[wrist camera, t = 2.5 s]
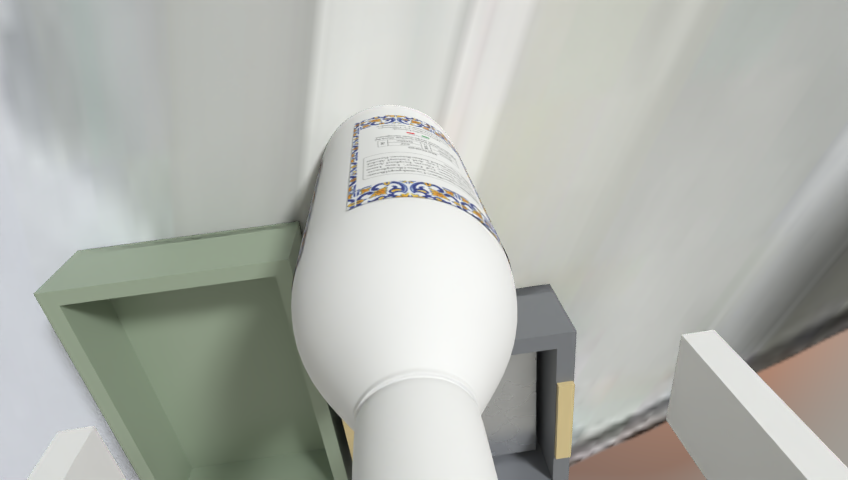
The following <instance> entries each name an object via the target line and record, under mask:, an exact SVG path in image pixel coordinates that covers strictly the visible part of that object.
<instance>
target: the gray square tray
mask: <svg viewBox="0 0 848 480" xmlns="http://www.w3.org/2000/svg"><path fill="white" fill-rule="evenodd" d="M516 297H517V328H516V336H515V342H514V346H513V349H512V353H511V355H517V354H524V353H531V352H536V450H531V451H524V452H518V453H511V454H505V455H498V456H492V458H493V462H494V466H495V470H496V474H497V478H498V480H568V475H569V458H570V457H571V443H572V425H573V407H574V390H575V384H574V367H575V349H576V330H575V328H574V326H573V324H572V322H571V321H570V319H569V317H568V315H567V314H566V312H565V310H564V308H563V307H562V305H561V303H560V301H559V300H558V298H557V296H556V294H555V293H554V291H553V289H552V287H551V286H550V284H547V285H540V286H532V287H525V288H518V289H516ZM342 422H343V426H344V430H345V434H346V438H347V442H348V445H349V449H350V453H351V457H352V461H353V442H354V431H353V430H352V429H351V428H350V427H349V426H348V425H347V424H346V423H345V421H344V420H343V419H342Z"/></svg>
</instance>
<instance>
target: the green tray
mask: <svg viewBox="0 0 848 480" xmlns="http://www.w3.org/2000/svg"><path fill="white" fill-rule="evenodd" d="M302 239H303V236H302V232H301V228H300V223H299V221H297V222H290V223H282V224H275V225H267V226H260V227H252V228H245V229H237V230H230V231H222V232H214V233H207V234H199V235H192V236H184V237H177V238H169V239H162V240H154V241H147V242H139V243H132V244H124V245H117V246H109V247H102V248H94V249H87V250H79V251H77V252H76V253H75V254H74V255H73V256H72V257H71V258H70V259H69V260H68V261H67V262H66V263H65V264H64V265H63V266H62V267H61V268H59V269H58V270H57V271H56V272H55V273H54V274H53V275H52V276H51V277H50V278H49V279H48V280H47V281H46V282H45V283H44V284H43V285H42V286H41V287H40V288H39V289H38V290H37V291H36V292H35V293H34V296H35V297H36V299H37V301H38V303H39V304H40V306H41V308H42V310H43V311H44V313H45V315H46V316H47V318H48V320H49V322H50V323H51V325H52V327H53V329H54V330H55V332H56V334H57V336H58V337H59V339H60V341H61V343H62V344H63V346H64V348H65V350H66V351H67V353H68V355H69V357H70V358H71V360H72V362H73V364H74V365H75V367H76V369H77V371H78V372H79V374H80V376H81V378H82V379H83V381H84V383H85V384H86V386H87V388H88V390H89V391H90V393H91V395H92V397H93V398H94V400H95V402H96V404H97V405H98V407H99V409H100V411H101V412H102V414H103V416H104V418H105V419H106V421H107V423H108V425H109V426H110V428H111V430H112V432H113V433H114V435H115V437H116V439H117V440H118V442H119V444H120V446H121V447H122V449H123V451H124V452H125V454H126V456H127V458H128V459H129V461H130V463H131V465H132V466H133V468H134V470H135V472H136V473H137V475H138V477H139V479H140V480H352V464H353V461H352V457H351V453H350V449H349V445H348V442H347V438H346V434H345V430H344V426H343V422H342V418H341V417H340V416H339V415H338V414H337V413H336V412H335V411H334V410H333V408H332V407H331V406H330V405H329V404H328V403H327V401H326V400H325V399H324V398H323V396H322V395H321V394H320V392H319V391H318V389H317V388H316V387H315V385H314V384H313V382H312V380H311V378H310V377H309V375H308V373H307V371H306V369H305V367H304V365H303V362H302V360H301V357H300V354H299V352H298V349H297V345H296V341H295V336H294V331H293V324H292V311H291V300H292V281H293V276H294V272H295V267H296V263H297V259H298V255H299V251H300V247H301V243H302Z"/></svg>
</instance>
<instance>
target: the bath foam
mask: <svg viewBox="0 0 848 480" xmlns="http://www.w3.org/2000/svg"><path fill="white" fill-rule="evenodd" d="M291 311H292V324H293V331H294V336H295V341H296V345H297V349H298V352H299V354H300V357H301V360H302V362H303V365H304V367H305V369H306V371H307V373H308V375H309V377H310V378H311V380H312V382H313V384H314V385H315V387H316V388H317V389H318V391H319V392H320V394H321V395H322V396H323V398H324V399H325V400H326V401H327V403H328V404H329V405H330V406H331V407H332V408H333V410H334V411H335V412H336V413H337V414H338V415H339V416H340V417H341V418H342V419H343V420H344V421H345V423H346V424H347V425H348V426H349V427H350V428H351V429H352V430H353V431H354V442H353V464H352V480H498V478H497V474H496V470H495V466H494V462H493V458H492V454H491V450H490V446H489V443H488V439H487V435H486V431H485V428H484V424H483V421H482V417H481V415H482V413H483V411H484V410H485V408H486V406H487V404H488V403H489V401H490V399H491V397H492V396H493V394H494V392H495V390H496V388H497V387H498V385H499V383H500V381H501V379H502V377H503V374H504V372H505V370H506V367H507V365H508V362H509V360H510V356H511V353H512V349H513V346H514V342H515V336H516V328H517V297H516V289H515V284H514V279H513V274H512V270H511V266H510V262H509V259H508V257H507V254H506V252H505V250H504V248H503V246H502V244H501V242H500V240H499V238H498V235H497V233H496V231H495V229H494V227H493V225H492V223H491V221H490V219H489V217H488V215H487V213H486V210H485V208H484V206H483V204H482V202H481V200H480V198H479V196H478V194H477V192H476V190H475V187H474V185H473V183H472V181H471V179H470V177H469V175H468V173H467V171H466V169H465V167H464V165H463V162H462V160H461V158H460V156H459V154H458V153H457V151H456V149H455V146H454V144H453V143H452V141H451V139H450V138H449V136H448V135H447V133H446V132H445V131H444V130H443V129H442V128H441V127H440V125H439V124H438V123H437V122H435V121H434V120H433V119H432V118H430V117H429V116H428V115H426V114H424V113H422V112H420V111H418V110H415V109H413V108H409V107H405V106H399V105H381V106H375V107H371V108H368V109H365V110H363V111H360V112H358V113H356V114H355V115H353V116H351V117H350V118H348V119H347V120H346V121H345V122H343V123H342V124H341V125H340V126H339V127H338V129H337V130H336V131H335V132H334V134H333V135H332V137H331V138H330V140H329V142H328V144H327V146H326V148H325V151H324V154H323V158H322V162H321V165H320V168H319V173H318V177H317V181H316V185H315V189H314V193H313V197H312V201H311V206H310V210H309V214H308V218H307V222H306V226H305V230H304V234H303V239H302V243H301V247H300V251H299V255H298V259H297V263H296V267H295V272H294V276H293V281H292V300H291Z"/></svg>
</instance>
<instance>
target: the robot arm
mask: <svg viewBox="0 0 848 480" xmlns="http://www.w3.org/2000/svg"><path fill="white" fill-rule="evenodd" d="M666 420H667V422H668V423H669V425H670V426H671V427H672V429H673V431H674V432H675V434H676V435H677V437H678V438H679V439H680V441H681V442H682V444H683V445H684V447H685V448H686V450H687V451H688V453H689V454H690V456H691V457H692V459H693V460H694V462H695V463H696V465H697V466H698V468H699V469H700V471H701V472H702V474H703V475H704V477H705V478H706V479H707V480H848V467H847V466H846V465H845V464H844V463H843V462H842V461H841V460H840V459H839V458H838V457H837V456H836V455H835V454H834V453H833V452H832V451H831V450H830V449H829V448H828V447H827V446H826V445H825V444H824V443H823V442H822V441H821V440H820V439H819V438H818V436H816V435H815V433H814V432H813V431H812V430H811V429H810V428H809V427H808V426H807V425H806V424H805V423H804V422H803V421H802V420H801V419H800V418H799V417H798V416H797V415H796V414H795V413H794V412H793V411H792V410H791V409H790V408H789V407H788V406H787V405H786V403H785V402H783V400H782V399H781V398H780V397H779V396H778V395H777V394H776V393H775V392H774V391H773V390H772V389H771V388H770V387H769V386H768V385H767V384H766V383H765V382H764V381H763V380H762V379H761V378H760V377H759V376H758V375H757V374H756V373H755V372H754V371H753V369H752V368H751V367H750V366H749V365H748V364H747V363H746V362H745V361H744V360H743V359H742V358H741V357H740V356H739V355H738V354H737V353H736V352H735V351H734V350H733V349H732V348H731V347H730V346H729V345H728V344H727V343H726V342H725V341H724V340H723V339H722V338H721V337H720V335H719V334H718V333H717V332H716V331H715V330H709V331H703V332H696V333H690V334H683V335H681V341H680V346H679V352H678V357H677V363H676V368H675V373H674V379H673V384H672V390H671V395H670V401H669V406H668V411H667V417H666ZM27 480H126V478H125V476H124V475H123V473H122V471H121V470H120V468H119V466H118V465H117V463H116V461H115V460H114V458H113V456H112V455H111V453H110V451H109V450H108V448H107V446H106V445H105V443H104V441H103V440H102V438H101V436H100V434H99V433H98V431H97V429H96V428H95V426H90V427H84V428H77V429H71V430H64V431H58V432H57V434H56V435H55V437H54V438H53V440H52V441H51V443H50V445H49V446H48V448H47V449H46V451H45V452H44V454H43V455H42V457H41V458H40V460H39V461H38V463H37V465H36V466H35V468H34V469H33V471H32V472H31V474H30V475H29V477H28V478H27Z"/></svg>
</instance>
